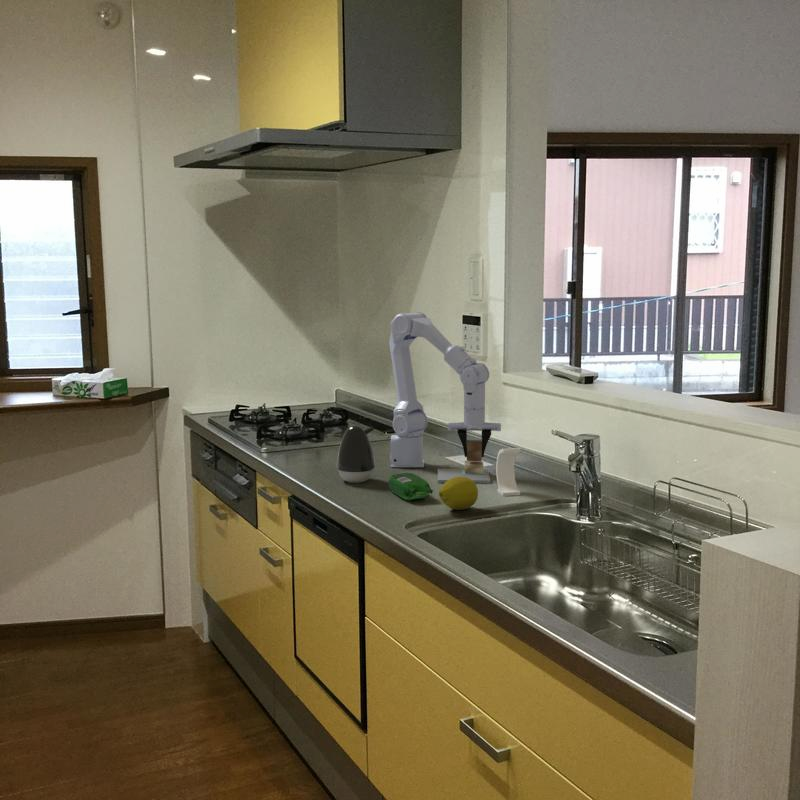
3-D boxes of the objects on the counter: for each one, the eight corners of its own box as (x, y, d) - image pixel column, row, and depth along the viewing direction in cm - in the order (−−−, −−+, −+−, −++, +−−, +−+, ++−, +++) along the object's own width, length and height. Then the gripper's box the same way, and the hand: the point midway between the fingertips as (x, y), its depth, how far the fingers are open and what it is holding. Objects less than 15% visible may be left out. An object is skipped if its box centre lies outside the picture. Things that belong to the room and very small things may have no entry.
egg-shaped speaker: (381, 482, 254) (381, 426, 252) (346, 486, 250) (345, 430, 247) (366, 474, 263) (365, 420, 261) (331, 478, 259) (330, 423, 256)
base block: (465, 473, 260) (465, 464, 260) (464, 469, 265) (464, 460, 265) (483, 473, 260) (483, 464, 260) (482, 469, 265) (482, 460, 265)
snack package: (407, 505, 231) (407, 484, 230) (385, 490, 246) (385, 471, 245) (434, 503, 234) (434, 482, 233) (410, 488, 248) (411, 469, 247)
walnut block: (466, 460, 260) (467, 442, 260) (466, 457, 264) (466, 440, 263) (481, 460, 260) (481, 443, 259) (481, 457, 264) (481, 440, 263)
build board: (437, 482, 254) (437, 479, 253) (437, 471, 267) (437, 468, 267) (490, 483, 253) (490, 480, 253) (487, 471, 267) (487, 468, 267)
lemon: (470, 503, 232) (470, 471, 231) (486, 511, 225) (486, 478, 224) (430, 508, 228) (430, 476, 227) (445, 516, 221) (446, 482, 220)
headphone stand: (502, 496, 240) (503, 449, 238) (495, 490, 245) (496, 444, 244) (520, 495, 240) (520, 448, 239) (513, 489, 246) (513, 444, 244)
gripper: (448, 410, 257) (447, 459, 259) (501, 410, 256) (501, 459, 258) (447, 406, 264) (447, 453, 266) (500, 406, 263) (499, 454, 265)
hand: (474, 456), depth 262 cm, fingers closed on walnut block, 4 cm apart
